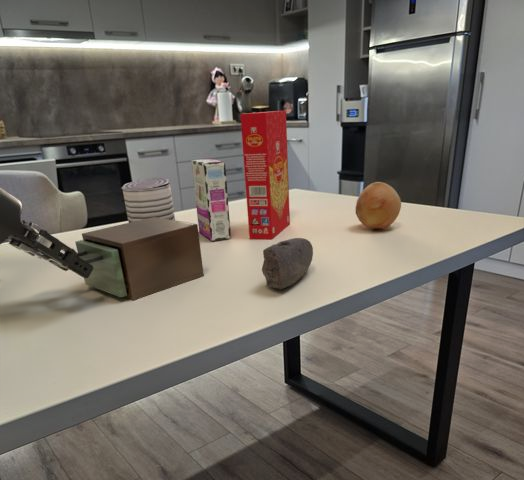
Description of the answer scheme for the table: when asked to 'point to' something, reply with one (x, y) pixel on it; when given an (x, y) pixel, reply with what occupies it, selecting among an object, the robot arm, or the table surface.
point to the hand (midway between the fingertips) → (78, 268)
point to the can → (148, 199)
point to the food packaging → (266, 172)
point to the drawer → (103, 266)
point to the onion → (378, 205)
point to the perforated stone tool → (286, 262)
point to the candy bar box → (211, 198)
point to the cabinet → (154, 253)
